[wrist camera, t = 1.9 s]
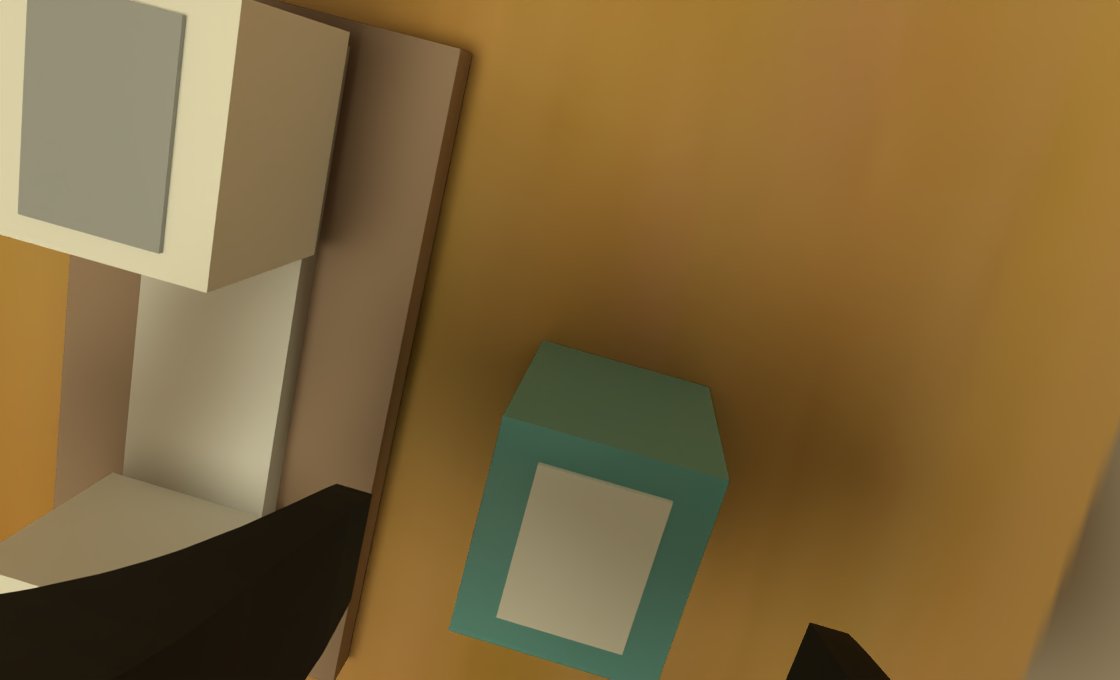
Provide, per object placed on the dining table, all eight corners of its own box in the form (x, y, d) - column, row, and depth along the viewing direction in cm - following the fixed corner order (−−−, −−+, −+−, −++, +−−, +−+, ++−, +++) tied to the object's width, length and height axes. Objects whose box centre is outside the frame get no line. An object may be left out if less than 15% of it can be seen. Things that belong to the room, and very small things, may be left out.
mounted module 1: (350, 32, 15) (238, -5, 11) (314, 254, 16) (202, 294, 12) (156, -19, 15) (-22, -73, 11) (137, 205, 16) (-30, 228, 12)
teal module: (708, 386, 18) (730, 483, 13) (653, 550, 19) (654, 696, 14) (543, 340, 18) (502, 417, 13) (499, 505, 19) (447, 633, 14)
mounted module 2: (272, 519, 18) (162, 629, 14) (246, 673, 19) (141, 813, 15) (112, 472, 18) (-39, 567, 14) (98, 627, 19) (-44, 754, 15)
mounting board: (472, 53, 16) (450, 44, 15) (347, 658, 21) (320, 704, 19) (122, -38, 17) (62, -58, 15) (75, 575, 21) (25, 613, 19)
